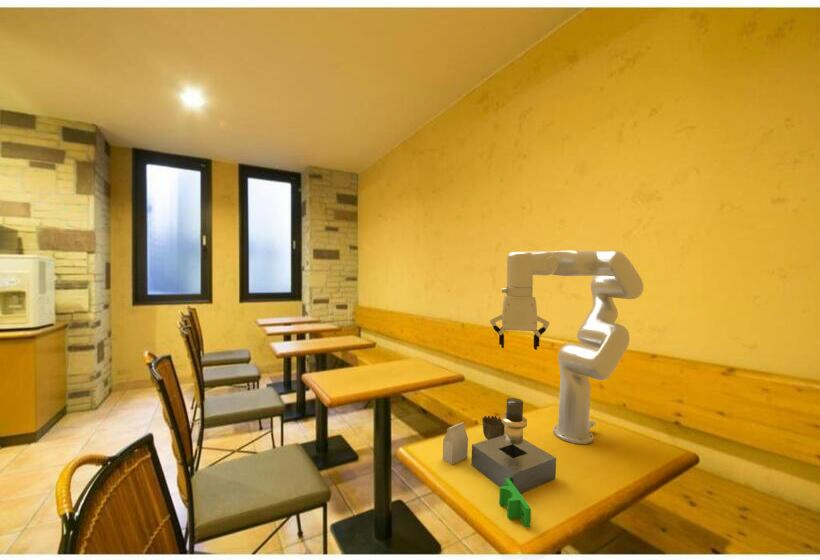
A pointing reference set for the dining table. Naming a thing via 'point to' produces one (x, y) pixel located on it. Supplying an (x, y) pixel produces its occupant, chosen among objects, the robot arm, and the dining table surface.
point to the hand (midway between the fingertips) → (518, 347)
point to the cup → (492, 427)
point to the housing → (513, 463)
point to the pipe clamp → (514, 503)
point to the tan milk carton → (455, 444)
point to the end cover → (514, 421)
